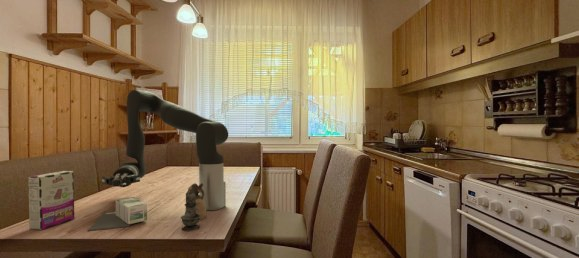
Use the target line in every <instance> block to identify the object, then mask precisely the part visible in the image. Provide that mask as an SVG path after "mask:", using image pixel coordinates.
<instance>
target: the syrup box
mask: <svg viewBox="0 0 579 258" xmlns="http://www.w3.org/2000/svg"><path fill="white" fill-rule="evenodd" d="M147 205H148V204H147V203H146V202H144V201H142V200H140V199H138V198H135V197H134V196H129V197H123V198H118V199H115V211H116V216H118V217H119V218H121V219H122V220H123V221H125V222H126V223H127V224H130V225H132V224H136V223H140V222H144V221H148V208H147V207H148V206H147Z"/></svg>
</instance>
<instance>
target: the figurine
mask: <svg viewBox="0 0 579 258" xmlns="http://www.w3.org/2000/svg"><path fill="white" fill-rule="evenodd" d="M202 186H203V183H201V184H200V185H199V184H197V183H192V184H191V185H190V186H189V187H188V188H187V192H185V195H186V194H187V193H189V192H190V189H191V190H192V192H194V193H195V194H196V203H197V205H196V213H197V214H199V215H201V217H200V220H199V222H200V221H202V220H205V219H206V218H207V210H206V207H205V203H204V199H203V197H204V191H203V189H202ZM199 192H201V193H202V196H200V195H199ZM184 211H185V212H186V210H184ZM185 212H184V213H185Z"/></svg>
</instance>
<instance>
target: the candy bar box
mask: <svg viewBox="0 0 579 258" xmlns="http://www.w3.org/2000/svg"><path fill="white" fill-rule="evenodd" d="M27 179H28V180H27V181H28V182H27V185H28V215H29V216H28V217H29V218H28V220H29V230H33V231H34V230H37V231H43V230H46V229H49V228H52V227H54V226H57V225H60V224H63V223H66V222H69V221H72V220H75V194H74V193H75V186H74V184H75V182H74V181H75V180H74V171H73V170H61V171H60V170H59V171H55V172H47V173H44V174H43V173H42V174H37V175H30V176H28V177H27Z"/></svg>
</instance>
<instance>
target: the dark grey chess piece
mask: <svg viewBox="0 0 579 258" xmlns="http://www.w3.org/2000/svg"><path fill="white" fill-rule="evenodd" d="M186 193H187V192H186ZM186 193H185V203H184V206H185V211H186V212H184V214H183V215H182V216H180V220H181V222H182V224H183V225H184V226H183V227H181V231H184V232H194V231H197V230H199V229H200V225H198V223H199V222H200V221H201V220H200V217H201V215H199V214H197V213H196V205H197V203H196V194H195V193H194V192H192V190H191V189H190V192H189V193H187V194H186ZM199 220H200V221H199ZM193 230H194V231H193Z"/></svg>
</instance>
